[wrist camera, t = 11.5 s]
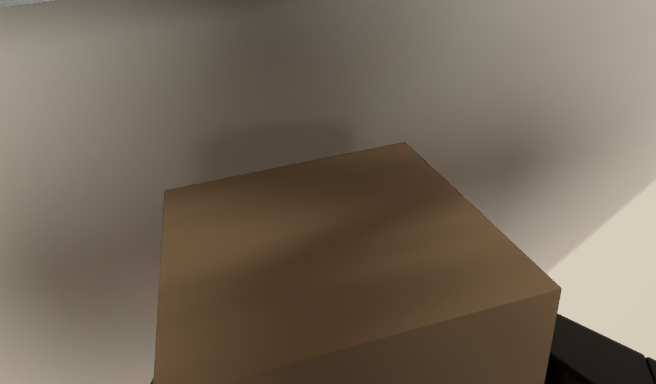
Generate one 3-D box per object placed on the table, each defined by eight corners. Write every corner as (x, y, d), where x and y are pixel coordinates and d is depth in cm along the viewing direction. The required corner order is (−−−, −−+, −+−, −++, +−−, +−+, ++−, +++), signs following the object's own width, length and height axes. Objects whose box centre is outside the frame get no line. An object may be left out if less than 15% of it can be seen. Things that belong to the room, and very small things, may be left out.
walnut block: (404, 142, 10) (561, 288, 6) (408, 316, 13) (521, 507, 9) (164, 190, 9) (152, 401, 5) (217, 368, 12) (238, 611, 8)
